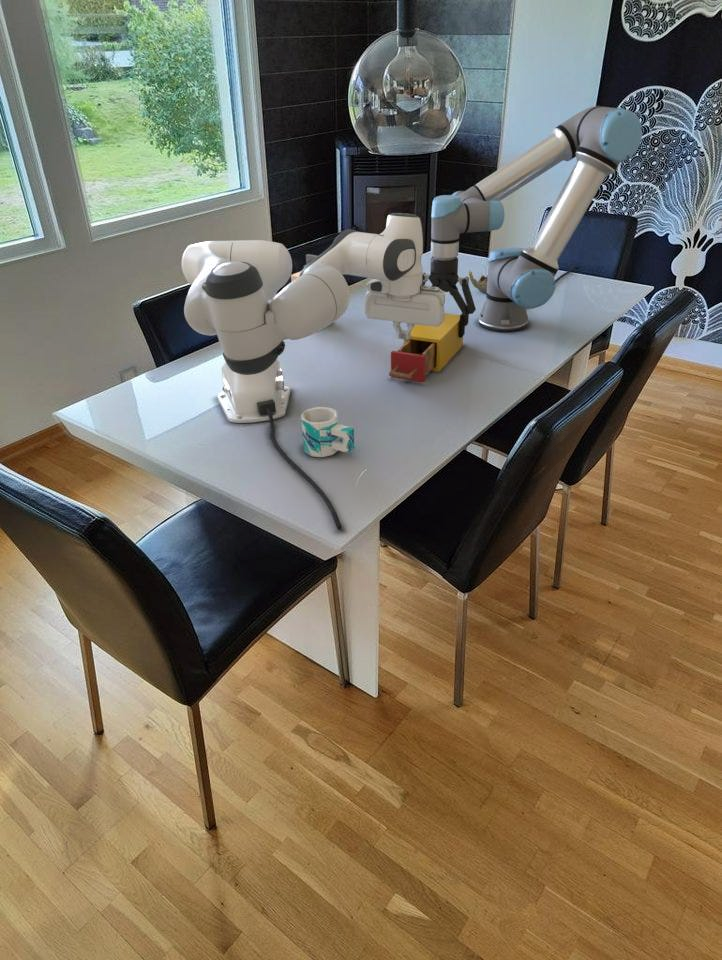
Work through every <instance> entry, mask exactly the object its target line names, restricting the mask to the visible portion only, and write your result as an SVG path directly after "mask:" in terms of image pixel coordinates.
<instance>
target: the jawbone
mask: <svg viewBox="0 0 722 960" xmlns="http://www.w3.org/2000/svg"><path fill="white" fill-rule="evenodd" d="M473 275H474V274H473V271H472V270H468V276H469V277H468V278H469V281H470V283H471V284H472V285H473V287H474V288H476V289H477V291H479V292H480V293H487V278H488V274H487V275H486V276H485V275H484V274H482V275H481V277H479V279H478V280H477V279H476V278H474V276H473Z"/></svg>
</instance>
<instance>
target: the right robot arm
mask: <svg viewBox="0 0 722 960" xmlns="http://www.w3.org/2000/svg"><path fill="white" fill-rule="evenodd" d="M642 137H643V129H642V123H641V120H640V118H639V116H638V115H637V114H636V113H635V112H633V111H631V110H628V109H626V108H623V107H610V106H603V105H594V106H590V107H587V108H586V109H583V110H581V111H579V112H578V113H576V114H574V115H573V116H571V117H569V118H568V119H566V120H565V121H563V122H562V123H560V124H558V125H557V126H555V127H554V128H553V129H552V131H551V134H550V135H549V136H547V137H546V138H545V139H542V140H541V141H539V142H538V143H537V144H535V145H533V146H532V147H530V148H529V149H528V150H526V151H525V152H523V153H521V154H520V155H518V156H516V158H514V159H512V160H511V161H509V162H508V163H506V164H505V165H503V166H502V167H500V168H498V169H497V170H495V171H494V172H493V173H491V174H490V175H488V176H486V177H484V178H483V179H482V180H480V181H479V182H477V183H475V184H473V186H471V187H469V188H468V189H466V190H458V191H455V192H453V193H452V194H448V195H447V194H443V195H438V196H437V195H436V196H435V197H434V198H433V200H432V205H431V215H430V218H431V224H430V225H431V230H430V231H431V233H430V235H431V238H430V256H431V258H430V273H429V274H427V273H426V272H423V273H422V285H424V286H426V283H427V282H428V280H429V282H430V283H431V286H430V287H439V289H441V290H442V291H443V292H444V293H449V295H450V296H451V297H452V298H453V300H454V302H455V303H456V305H457V306H458V308H459V310H460V312H461V314H459V315H460V327H459V337H460V338H462V337H463V338H464V336H465V332H466V331H465V329H466V326H468V324H469V320H470V319H469V317H470V316H469V315H472V314H474V313H475V312H476V311H477V309H476V305H475V302H474V299H473V295H472V291H471V288H470V277H468V276H465V277H459V274H458V272H459V258H458V256H459V249H460V235H461V234H467V233H469V234H470V233H481V232H491V231H492V232H493V231H498V230H500V229H501V228H502V227H503V225H504V221H505V208H504V205H503V203H502V200H504V199H505V198H507V197H509V196H510V195H512V194H513V193H515V192H516V191H518V190H520V189H521V188H523V187H524V186H526V185H527V184H529V183H530V182H531V181H533V180H535V179H537V178H538V177H540V176H541V175H543V174H545V173H546V172H547V171H549V170H550V169H552V168H554V167H555V166H557V165H558V164H560V163H561V162H563V161H565V162H569V161H571V160H573V159H574V158H576V163H575V165H574V166H573V168H572V170H571V172H570V174H569V176H568V178H567V179H566V181H565V183H564V185H563V186H562V189H561V190H560V191H559V193H558V195H557V198H556V199H555V201H554V203H553V205H552V207H551V208H550V210H549V212H548V214H547V216H546V218H545V219H544V221H543V223H542V225H541V226H540V228H539V230H538V232H537V234H536V236H535V237H534V240H533V241H532V243H531V245H530V246H529V247H503V248H497V249H493V250H491V251H490V253H489V256H488V261H487V275H488V278H487V292H486V296H485V301H484V303H483V306H482V308H481V311H480V314H479V316H478V324H479V326H480V327H482V328H483V329H487V330H488V331H489V330H490V331H494V332H503V333H504V332H516V331H520V330H523V329H525V328H526V327H528V324H529V316H528V311H527V309H537V308H539V307H542V306H544V305H545V304H546V303H548V302H549V301H550V299H551V298H552V297H553V295H554V293H555V290H556V283H557V282H558V281H560V280H561V279H562V278H563V277H565V276H566V275H568V274H570V273H573V272H574V270H575V269H576V270H580V268H579V266H576V265H575V266H574V267H572V268H571V269H570V270H568V271H566V272H564V273H562V274H561V275H560V276H559V277H557V278H556V279H555V276H556V275H557V273H558V271H559V270H560V268H559V263H558V261H559V259H560V257H561V255H562V253H563V252H564V250H565V249H566V246H567V245H568V243H569V241H570V240H571V238H572V236H573V234H574V232H575V231H576V229H577V228H578V225H580V223H581V220H582V218H583V217H584V216H585V213H586V212H587V210H588V208H589V206H590V205H591V203H592V201H593V200H594V198H595V196H596V194H597V193H598V191H599V189H600V187H601V185H602V183H603V182H604V180H605V179H606V177H607V176H610V175H612V174H615V173H616V171H617V169H618V167H619V166H620V164H621V162H624V161H627V160H628V159H630V158H632V156H633V155H634V154H635V153H636V152H637V150H638V149H639V147H640V144H641V142H642ZM458 283H459V286H461V290H462V294H461V293H460V292H459V288H458V286H457V284H458ZM462 295H463V297H464V298H463V297H462Z"/></svg>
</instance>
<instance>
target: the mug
mask: <svg viewBox="0 0 722 960" xmlns="http://www.w3.org/2000/svg"><path fill="white" fill-rule="evenodd" d="M300 422H301V423H300V424H301V432H302V446H303V452H304V453H305V454H307V455H308V456H310V457H316V458H324V457H329V456H333V455H334V454H336V453H337V452H342V453H346V454H349V453H351V452H352V451H353V450H354V449H356V448H355V428H354V427H351V426H347V425H344V424H341V423H339V422H338V411H337V410H335V409H334V408H332V407H326V406H316V407H310V408H307V409H306V410H304V411H303V412H301V414H300Z"/></svg>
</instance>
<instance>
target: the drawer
mask: <svg viewBox="0 0 722 960" xmlns="http://www.w3.org/2000/svg"><path fill="white" fill-rule="evenodd" d="M436 357H437V343H435V342H428V341H420V340H413V339H409V340H408V341H407V342H406V343H405V344H404V343H403V344H402V345H401V346H400V347H399V348H398V349H397V350H391V351H390V371H389V372H388V376H389V377H390V378H391V379H398V380H404V381H410V382H416V383H423V384H424V383H425V382H426V376H427V375H428V374H429V373H430V372H432V371H431V370H432V369H433V367H434V366H435V365H436Z"/></svg>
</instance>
